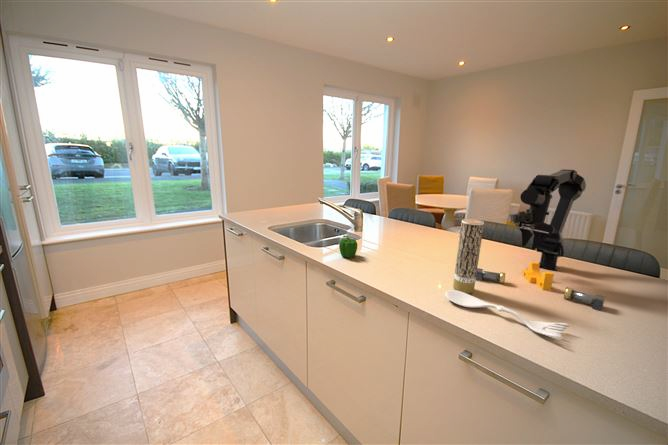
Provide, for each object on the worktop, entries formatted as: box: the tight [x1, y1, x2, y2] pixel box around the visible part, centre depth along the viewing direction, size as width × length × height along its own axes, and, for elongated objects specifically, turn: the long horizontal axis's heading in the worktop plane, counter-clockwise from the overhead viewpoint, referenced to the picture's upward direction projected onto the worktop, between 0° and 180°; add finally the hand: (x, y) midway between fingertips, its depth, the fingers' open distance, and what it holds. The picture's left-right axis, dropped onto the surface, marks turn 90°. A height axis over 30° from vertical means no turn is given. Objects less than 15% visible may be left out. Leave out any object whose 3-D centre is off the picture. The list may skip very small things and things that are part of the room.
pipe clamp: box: [522, 261, 555, 292], centre depth 110 cm, size 12×4×6 cm, turn 169°
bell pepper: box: [338, 235, 358, 259], centre depth 135 cm, size 8×8×10 cm
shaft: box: [563, 286, 606, 312], centre depth 95 cm, size 10×4×4 cm, turn 42°
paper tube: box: [452, 218, 485, 294], centre depth 101 cm, size 7×7×25 cm
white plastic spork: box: [445, 289, 570, 341], centre depth 87 cm, size 9×32×4 cm, turn 43°
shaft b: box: [475, 267, 506, 285], centre depth 111 cm, size 10×4×4 cm, turn 62°
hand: (527, 248), depth 112 cm, fingers open, 9 cm apart
